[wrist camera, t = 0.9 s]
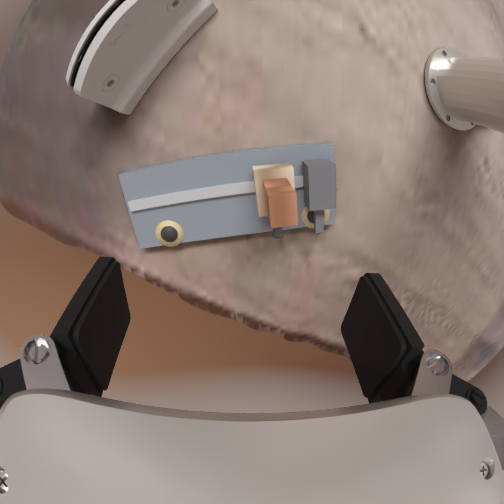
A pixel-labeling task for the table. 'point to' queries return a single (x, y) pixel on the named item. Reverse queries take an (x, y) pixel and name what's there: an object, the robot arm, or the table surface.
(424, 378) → the robot arm
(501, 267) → the table surface
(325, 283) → the table surface
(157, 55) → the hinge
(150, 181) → the gauge board
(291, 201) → the block
